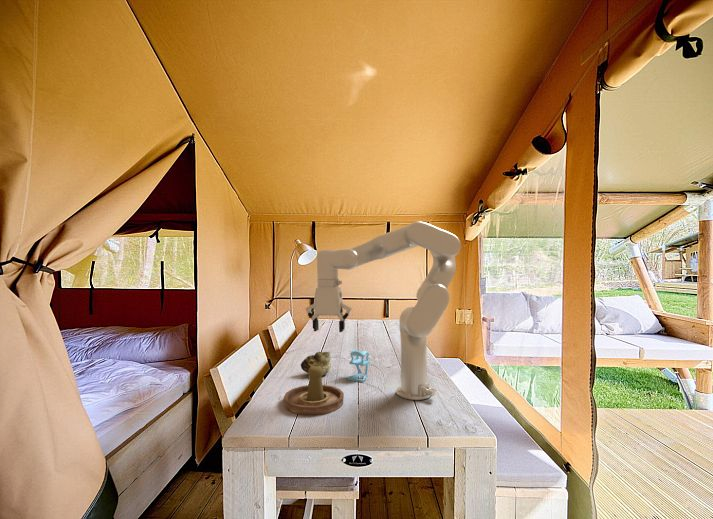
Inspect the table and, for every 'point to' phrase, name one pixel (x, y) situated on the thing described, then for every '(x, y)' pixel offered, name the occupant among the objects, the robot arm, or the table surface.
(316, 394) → the cork
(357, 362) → the chair
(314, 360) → the seashell
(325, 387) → the ring tray
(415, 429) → the table surface
